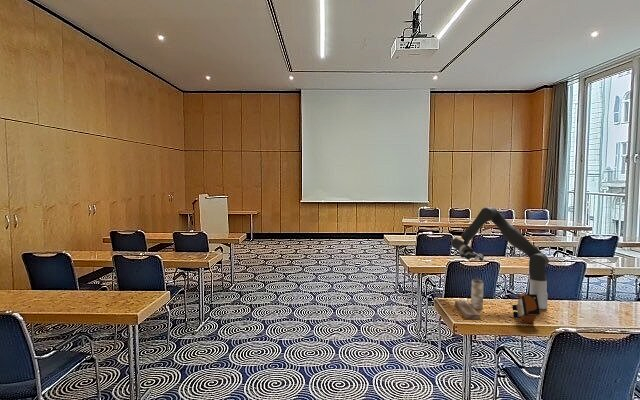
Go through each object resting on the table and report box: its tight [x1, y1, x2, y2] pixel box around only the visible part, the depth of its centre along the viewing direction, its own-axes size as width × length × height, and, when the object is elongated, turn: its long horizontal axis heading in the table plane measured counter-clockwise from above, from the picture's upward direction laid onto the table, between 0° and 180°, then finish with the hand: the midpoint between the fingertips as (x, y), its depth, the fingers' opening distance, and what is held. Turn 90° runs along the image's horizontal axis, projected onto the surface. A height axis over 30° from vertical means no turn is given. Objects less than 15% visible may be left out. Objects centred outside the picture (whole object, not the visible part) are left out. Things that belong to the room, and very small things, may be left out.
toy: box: [511, 293, 541, 324], centre depth 235 cm, size 16×6×20 cm
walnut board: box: [454, 300, 481, 321], centre depth 252 cm, size 8×30×3 cm, turn 173°
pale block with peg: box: [470, 277, 484, 310], centre depth 261 cm, size 6×6×18 cm
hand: (475, 259), depth 270 cm, fingers open, 8 cm apart
